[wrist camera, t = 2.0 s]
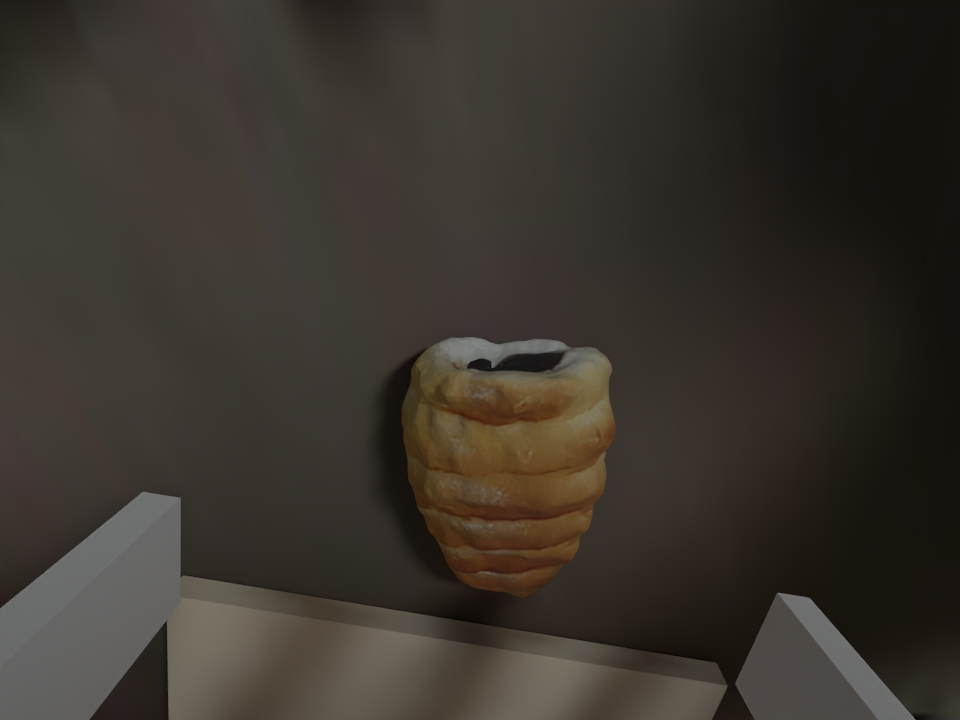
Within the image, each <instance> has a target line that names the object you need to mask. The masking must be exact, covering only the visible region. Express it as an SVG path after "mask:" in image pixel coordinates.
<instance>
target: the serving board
mask: <svg viewBox="0 0 960 720" xmlns="http://www.w3.org/2000/svg"><path fill="white" fill-rule="evenodd" d="M167 649H168V709H169V720H712V719H713V716H714V714H715V712H716V710H717V708H718V706H719V704H720V702H721V699H722V697H723V695H724V693H725V691H726V689H727V687H728V685H727V683H726V681H725V679H724V677H723V675H722V673H721V671H720V669H719V667H718V665H717V663H715V662H709V661H703V660H697V659H691V658H685V657H679V656H673V655H667V654H660V653H654V652H648V651H642V650H636V649H630V648H624V647H618V646H612V645H606V644H599V643H593V642H587V641H581V640H575V639H569V638H563V637H557V636H551V635H545V634H539V633H532V632H526V631H520V630H514V629H508V628H502V627H496V626H490V625H484V624H478V623H471V622H465V621H459V620H453V619H447V618H441V617H435V616H429V615H423V614H417V613H411V612H404V611H398V610H392V609H386V608H380V607H374V606H368V605H362V604H356V603H350V602H344V601H337V600H331V599H325V598H319V597H313V596H307V595H301V594H295V593H289V592H283V591H276V590H270V589H264V588H258V587H252V586H246V585H240V584H234V583H228V582H222V581H216V580H209V579H203V578H197V577H191V576H185V575H183V576H182V577H181V578H180V604H179V605H178V606H177V607H176V609H175V610H174V611H173V613H172V614H171V615H170V616H169V618H168V619H167Z"/></svg>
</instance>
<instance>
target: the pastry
mask: <svg viewBox="0 0 960 720" xmlns="http://www.w3.org/2000/svg"><path fill="white" fill-rule="evenodd" d="M611 372H612V366H611V364H610V362H609V360H608V358H607V357H606V356H605V355H603V354H602V353H601V352H600V351H598V350H597V349H596V348H593V347H583V348H578V347H576V348H569V347H567V346H566V345H565V344H564V343H562V342H560V341H556V340H548V339H533V340H529V341H514V342H509V343H504V344H499V345H497V344H494V343H490V342H488V341H487V340H484V339H480V338H474V337H467V338H449V339H446V340H443V341H441V342H438V343H436V344H434V345H432V346H430V347H429V348H428V349H427V350H426V351H425V352H424V353H422V354H421V355H420V356H419V357H418V359H417V360H416V362H415V363H414V365H413V367H412V369H411V383H410V386H409V389H408V392H407V394H406V396H405V399H404V402H403V405H402V409H401V412H402V419H401V422H402V425H403V440H404V444H405V449H406V454H407V458H408V481H409V482H410V484H411V486H412V488H413V491H414V494H415V499H416V504H417V507H418V510H419V511H420V512H421V513H422V514H423V516H424V518H425V521H426V525H427V528H428V531H429V532H430V533H431V534H432V535H433V536H434V537H435V539H436V540H437V541H438V543H439V545H440V547H441V550H442V552H443V554H444V557H445V561H446V563H447V565H448V566H449V567H450V568H451V570H452V571H453V572H454V574H455V575H456V577H457V578H458V579H459V580H460V581H461V582H463V583H465V584H467V585H469V586H471V587H474V588H477V589H482V590H490V591H494V592H498V591H499V592H507V593H510V594H511V595H513V596H516V597H521V598H527V597H528V596H530V595H531V594H533V593H534V592H536V591H537V590H538V588H540V587H543V586H544V585H545V584H548V583H550V582H551V581H552V580H553V579H554V577H555V576H556V575H557V573H558V572H559V570H560V568H561V567H562V565H563V564H564V563H566V562H570V561H571V560H572V559H573V557H574V555H575V554H576V552H577V551H578V548H579V544H580V542H579V539H580V535H581V534H583V533H584V532H586V531H587V530H588V529H589V526H590V523H591V520H592V514H593V506H594V503H595V501H596V500H597V499H598V498H599V497H600V496H601V495H602V494H603V491H604V486H605V482H606V478H607V477H606V466H605V462H604V458H605V451H606V450H607V449H608V448H609V447H610V446H611V444H612V442H613V440H614V435H615V421H614V417H613V412H612V408H611V405H610V401H609V378H610V375H611Z"/></svg>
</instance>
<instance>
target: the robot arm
mask: <svg viewBox="0 0 960 720" xmlns="http://www.w3.org/2000/svg"><path fill="white" fill-rule="evenodd" d="M180 540H181V498H178V497H172V496H165V495H159V494H153V493H147V492H142V493H141V494H140V495H139V496H137V497H136V498H135V499H134V500H133V501H131V502H130V503H129V504H128V505H126V506H125V507H124V508H123V509H121V510H120V511H119V512H118V513H117V514H115V515H114V516H113V517H112V518H110V519H109V520H108V521H107V522H106V523H104V524H103V525H102V526H101V527H99V528H98V529H97V530H96V531H95V532H93V533H92V534H91V535H90V536H88V537H87V538H86V539H85V540H83V541H82V542H81V543H80V544H79V545H77V546H76V547H75V548H74V549H72V550H71V551H70V552H69V553H68V554H66V555H65V556H64V557H63V558H61V559H60V560H59V561H58V562H57V563H55V564H54V565H53V566H52V567H50V568H49V569H48V570H47V571H45V572H44V573H43V574H42V575H41V576H39V577H38V578H37V579H36V580H34V581H33V582H32V583H31V584H30V585H28V586H27V587H26V588H25V589H23V590H22V591H21V592H20V593H19V594H17V595H16V596H15V597H14V598H12V599H11V600H10V601H9V602H7V603H6V604H5V605H4V606H3V607H1V608H0V720H89V719H90V718H91V717H92V716H93V714H94V713H95V712H96V710H97V709H98V708H99V707H100V705H101V704H102V703H103V701H104V700H105V699H106V698H107V696H108V695H109V694H110V692H111V691H112V690H113V689H114V687H115V686H116V685H117V683H118V682H119V681H120V680H121V678H122V677H123V676H124V674H125V673H126V672H127V671H128V669H129V668H130V667H131V665H132V664H133V663H134V662H135V660H136V659H137V658H138V656H139V655H140V654H141V653H142V651H143V650H144V649H145V647H146V646H147V645H148V643H149V642H150V641H151V640H152V638H153V637H154V636H155V634H156V633H157V632H158V631H159V629H160V628H161V627H162V625H163V624H164V623H165V622H166V620H167V619H168V618H169V616H170V615H171V614H172V613H173V611H174V610H175V609H176V607H177V606H178V605H179V604H180ZM735 685H736V687H737V688H738V690H739V692H740V694H741V696H742V697H743V699H744V701H745V703H746V705H747V707H748V708H749V710H750V712H751V714H752V716H753V718H754V719H755V720H915V719H914V717H913V716H912V715H911V714H910V713H909V712H908V711H907V709H906V708H905V707H904V706H903V705H902V704H901V703H900V701H899V700H898V699H897V698H896V697H895V696H894V694H893V693H892V692H891V691H890V690H889V689H888V688H887V686H886V685H885V684H884V683H883V682H882V681H881V679H880V678H879V677H878V676H877V675H876V674H875V673H874V671H873V670H872V669H871V668H870V667H869V666H868V665H867V663H866V662H865V661H864V660H863V659H862V658H861V656H860V655H859V654H858V653H857V652H856V651H855V650H854V648H853V647H852V646H851V645H850V644H849V643H848V641H847V640H846V639H845V638H844V637H843V636H842V635H841V633H840V632H839V631H838V630H837V629H836V628H835V627H834V625H833V624H832V623H831V622H830V621H829V620H828V618H827V617H826V616H825V615H824V614H823V613H822V612H821V610H820V609H819V608H818V607H817V606H816V605H815V603H814V602H813V601H812V600H811V599H810V598H808V597H802V596H795V595H789V594H783V593H777V594H776V596H775V599H774V601H773V603H772V605H771V607H770V609H769V612H768V614H767V616H766V618H765V620H764V622H763V624H762V627H761V629H760V631H759V633H758V635H757V637H756V640H755V642H754V644H753V646H752V648H751V650H750V652H749V655H748V657H747V659H746V661H745V663H744V665H743V668H742V670H741V672H740V674H739V676H738V678H737V680H736V683H735Z"/></svg>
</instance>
